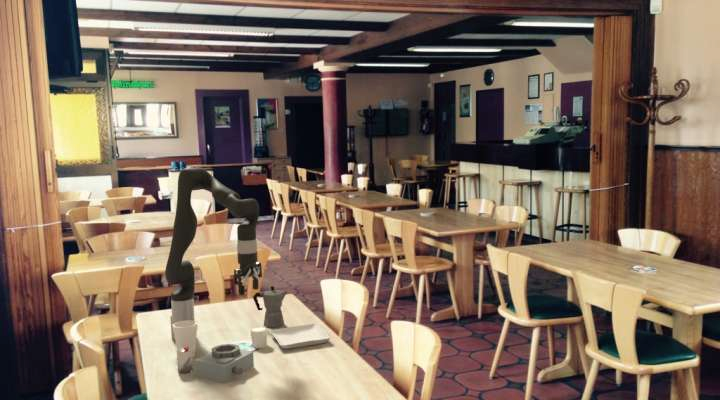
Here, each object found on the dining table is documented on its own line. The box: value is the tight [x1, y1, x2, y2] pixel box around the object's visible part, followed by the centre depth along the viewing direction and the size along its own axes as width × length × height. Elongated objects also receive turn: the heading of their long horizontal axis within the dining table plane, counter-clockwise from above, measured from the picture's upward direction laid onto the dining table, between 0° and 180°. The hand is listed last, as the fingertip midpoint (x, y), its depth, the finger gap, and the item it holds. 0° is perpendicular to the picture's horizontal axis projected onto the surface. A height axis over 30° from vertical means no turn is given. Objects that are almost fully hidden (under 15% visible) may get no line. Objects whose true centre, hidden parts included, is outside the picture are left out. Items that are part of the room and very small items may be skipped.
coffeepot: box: [252, 285, 288, 329], centre depth 285 cm, size 15×9×18 cm, turn 103°
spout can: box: [176, 347, 193, 375], centre depth 233 cm, size 5×5×9 cm
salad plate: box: [269, 323, 331, 350], centre depth 264 cm, size 21×21×3 cm
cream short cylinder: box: [249, 326, 268, 349], centre depth 259 cm, size 7×7×7 cm
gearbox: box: [194, 343, 255, 384], centre depth 231 cm, size 17×16×8 cm
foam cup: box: [173, 320, 198, 358], centre depth 248 cm, size 10×9×13 cm
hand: (248, 292), depth 244 cm, fingers open, 8 cm apart
